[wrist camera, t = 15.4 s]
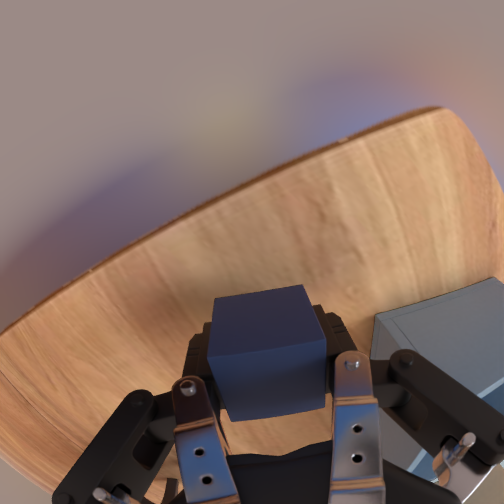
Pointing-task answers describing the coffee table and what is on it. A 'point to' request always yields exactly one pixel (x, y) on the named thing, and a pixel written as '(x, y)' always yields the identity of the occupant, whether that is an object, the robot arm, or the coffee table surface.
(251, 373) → the block
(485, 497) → the lid
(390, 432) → the light blue open box
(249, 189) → the coffee table surface
